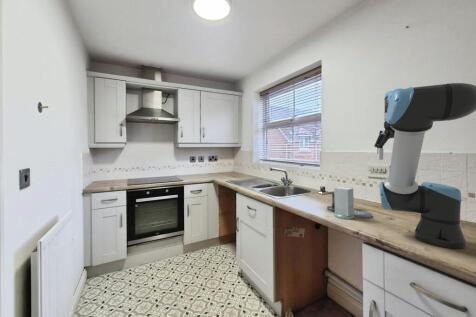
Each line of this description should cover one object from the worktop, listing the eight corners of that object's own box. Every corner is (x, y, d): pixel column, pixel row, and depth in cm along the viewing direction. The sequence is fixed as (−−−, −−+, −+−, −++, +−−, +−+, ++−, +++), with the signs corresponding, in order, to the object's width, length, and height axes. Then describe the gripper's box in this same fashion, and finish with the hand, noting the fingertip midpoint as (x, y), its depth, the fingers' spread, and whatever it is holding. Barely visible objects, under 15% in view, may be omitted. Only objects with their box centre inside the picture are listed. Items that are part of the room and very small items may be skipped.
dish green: (358, 218, 114) (358, 216, 114) (341, 220, 112) (341, 217, 112) (345, 213, 124) (345, 211, 123) (330, 214, 122) (330, 212, 122)
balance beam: (353, 192, 131) (353, 184, 130) (321, 196, 126) (320, 188, 126) (346, 190, 137) (346, 183, 137) (315, 194, 133) (315, 186, 133)
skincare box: (354, 215, 116) (354, 188, 115) (348, 217, 113) (348, 189, 112) (339, 211, 123) (340, 186, 122) (333, 213, 120) (334, 187, 119)
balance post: (344, 210, 129) (344, 194, 129) (332, 211, 127) (332, 195, 127) (335, 207, 137) (335, 191, 136) (324, 207, 135) (324, 192, 135)
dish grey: (376, 217, 116) (376, 215, 116) (360, 218, 114) (360, 216, 114) (362, 212, 126) (362, 210, 126) (347, 213, 124) (347, 210, 124)
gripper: (422, 117, 102) (421, 161, 102) (378, 123, 126) (377, 159, 127) (409, 116, 100) (408, 161, 101) (368, 123, 125) (367, 159, 125)
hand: (391, 160), depth 114 cm, fingers open, 13 cm apart
